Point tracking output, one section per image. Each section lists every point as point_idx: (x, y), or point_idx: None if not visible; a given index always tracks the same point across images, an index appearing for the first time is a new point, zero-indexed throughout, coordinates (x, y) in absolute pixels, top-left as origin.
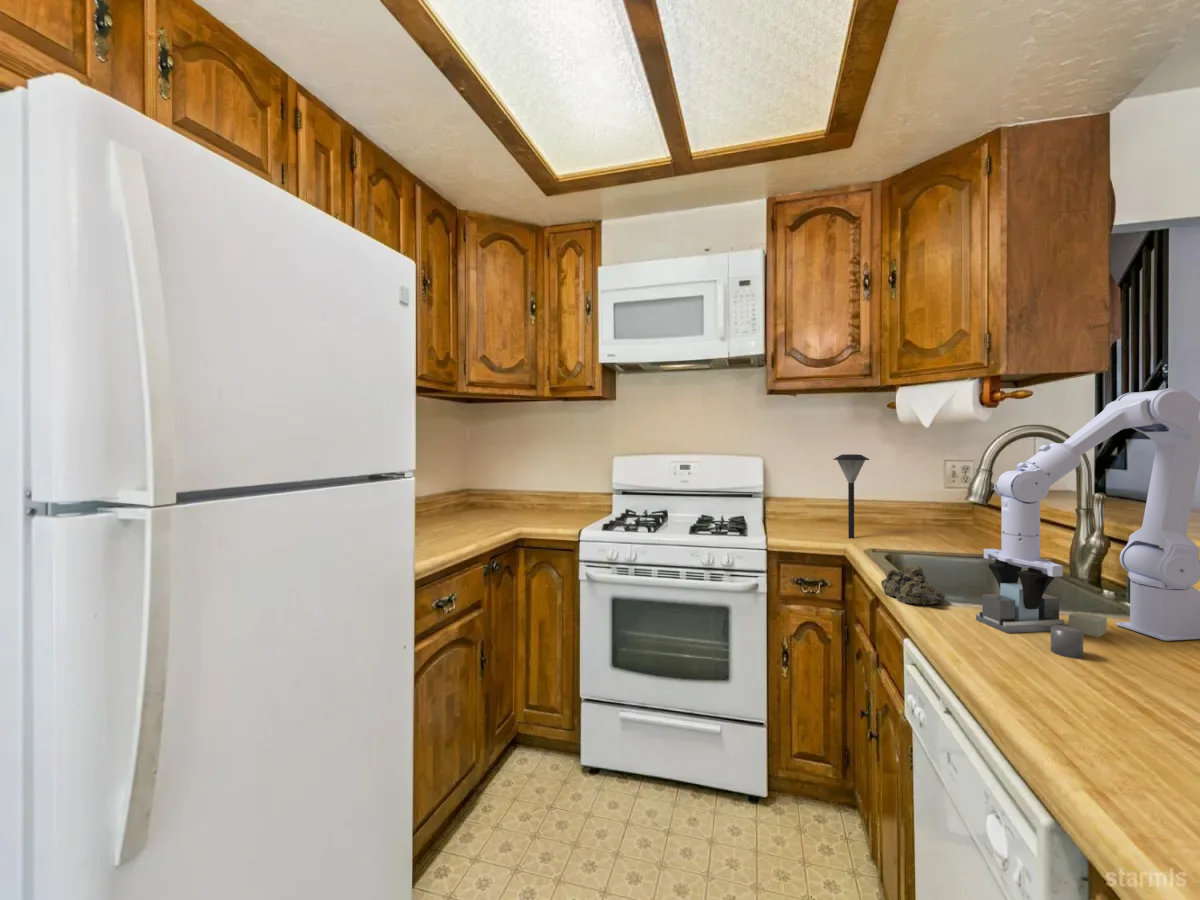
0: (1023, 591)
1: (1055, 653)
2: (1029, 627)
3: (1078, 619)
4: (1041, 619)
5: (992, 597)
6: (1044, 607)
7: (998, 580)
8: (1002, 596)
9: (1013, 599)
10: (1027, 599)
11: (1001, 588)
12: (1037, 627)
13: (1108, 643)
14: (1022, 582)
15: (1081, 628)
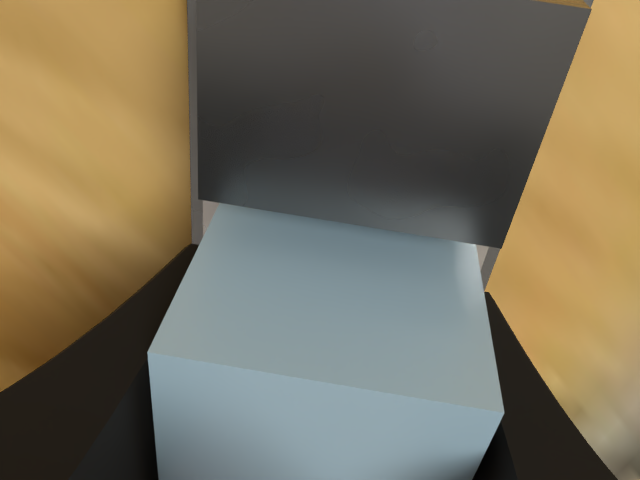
0: (134, 360)
1: None
2: (194, 130)
3: None
4: None
5: (389, 10)
6: None
7: (579, 476)
8: (377, 204)
9: (286, 251)
10: (132, 296)
11: (473, 347)
12: (193, 191)
13: (8, 335)
14: (36, 465)
15: None
